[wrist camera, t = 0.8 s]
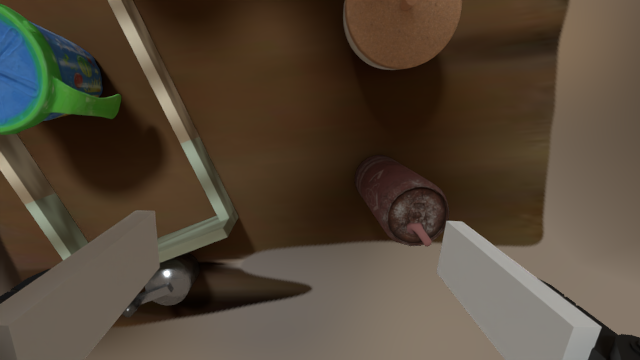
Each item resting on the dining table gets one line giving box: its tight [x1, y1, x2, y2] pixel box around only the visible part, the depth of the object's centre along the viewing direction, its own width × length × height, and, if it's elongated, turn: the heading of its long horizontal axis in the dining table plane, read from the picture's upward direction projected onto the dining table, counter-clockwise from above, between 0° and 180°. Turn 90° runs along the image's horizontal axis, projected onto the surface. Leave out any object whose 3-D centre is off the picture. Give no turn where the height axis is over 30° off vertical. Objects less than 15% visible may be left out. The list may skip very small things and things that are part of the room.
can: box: [355, 155, 449, 246], centre depth 32 cm, size 6×6×14 cm
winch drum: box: [123, 253, 200, 317], centre depth 36 cm, size 5×6×7 cm
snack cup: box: [0, 4, 121, 135], centre depth 28 cm, size 16×10×10 cm
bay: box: [0, 0, 238, 263], centre depth 32 cm, size 27×20×6 cm
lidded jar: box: [343, 0, 462, 70], centre depth 29 cm, size 11×11×9 cm
